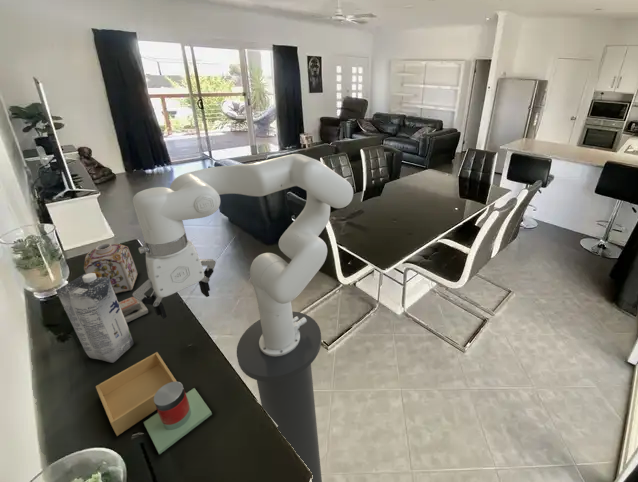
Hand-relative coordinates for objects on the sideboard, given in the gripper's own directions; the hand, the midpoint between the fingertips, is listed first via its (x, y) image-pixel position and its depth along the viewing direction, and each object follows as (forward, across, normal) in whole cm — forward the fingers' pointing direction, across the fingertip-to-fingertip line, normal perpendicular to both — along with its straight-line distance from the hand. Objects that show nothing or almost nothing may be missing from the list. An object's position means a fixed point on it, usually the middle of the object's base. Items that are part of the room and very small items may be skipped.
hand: (185, 304), depth 77 cm
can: (+27, -9, -4) cm, 29 cm away
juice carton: (+28, -14, +33) cm, 46 cm away
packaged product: (+28, -10, +48) cm, 57 cm away
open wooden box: (+28, -13, +10) cm, 33 cm away
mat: (+28, -9, -4) cm, 30 cm away
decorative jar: (+28, -4, +69) cm, 75 cm away
